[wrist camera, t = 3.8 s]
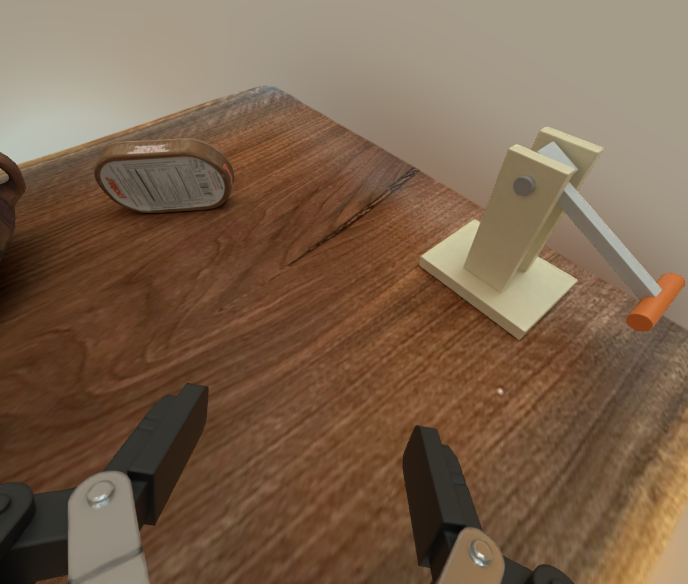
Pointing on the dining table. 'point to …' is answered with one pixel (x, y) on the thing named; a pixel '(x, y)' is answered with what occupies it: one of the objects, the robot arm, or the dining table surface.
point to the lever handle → (618, 254)
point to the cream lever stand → (515, 236)
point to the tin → (164, 175)
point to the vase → (9, 201)
